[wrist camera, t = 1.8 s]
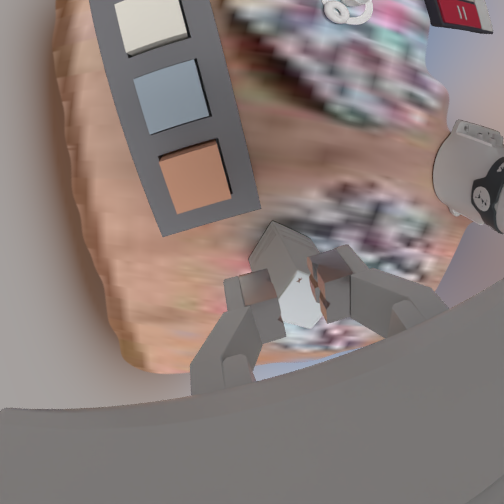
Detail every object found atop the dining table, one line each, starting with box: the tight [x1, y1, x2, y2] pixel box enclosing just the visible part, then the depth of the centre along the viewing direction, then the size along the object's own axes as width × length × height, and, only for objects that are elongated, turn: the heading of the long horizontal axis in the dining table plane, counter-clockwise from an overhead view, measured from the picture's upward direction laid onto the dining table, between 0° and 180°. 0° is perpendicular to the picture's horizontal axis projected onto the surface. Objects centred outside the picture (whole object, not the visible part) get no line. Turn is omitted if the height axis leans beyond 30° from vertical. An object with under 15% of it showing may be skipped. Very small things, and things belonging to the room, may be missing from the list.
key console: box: [89, 0, 261, 237], centre depth 28 cm, size 12×30×6 cm, turn 13°
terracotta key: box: [159, 139, 231, 214], centre depth 31 cm, size 6×6×4 cm
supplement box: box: [248, 221, 323, 329], centre depth 39 cm, size 7×7×13 cm
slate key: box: [133, 59, 209, 134], centre depth 26 cm, size 6×6×4 cm
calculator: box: [424, 0, 493, 34], centre depth 24 cm, size 11×4×15 cm
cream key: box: [114, 0, 188, 56], centre depth 21 cm, size 6×6×4 cm
